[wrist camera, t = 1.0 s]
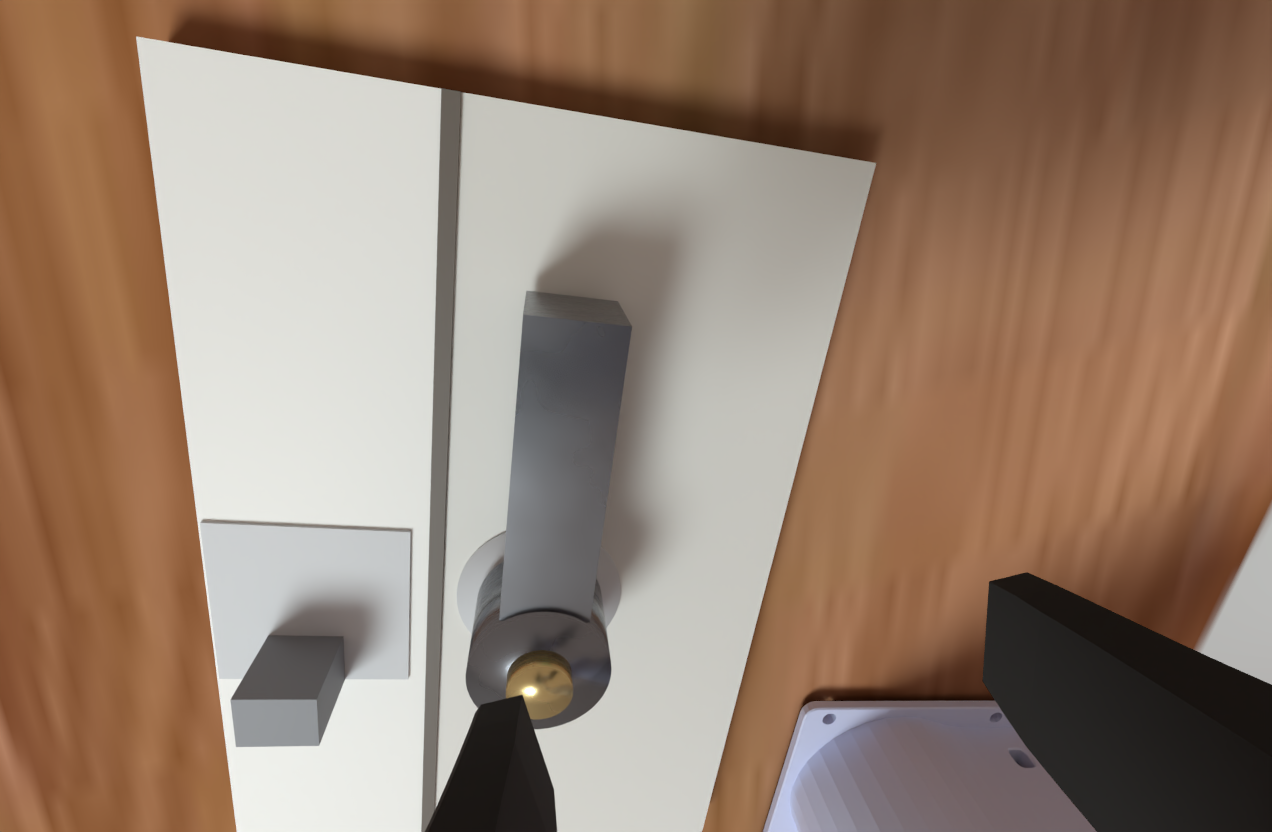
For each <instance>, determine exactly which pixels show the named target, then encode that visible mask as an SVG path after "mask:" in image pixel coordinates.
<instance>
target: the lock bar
mask: <svg viewBox="0 0 1272 832" xmlns="http://www.w3.org/2000/svg"><path fill="white" fill-rule="evenodd" d="M631 331H632V325H631V324H630V322H629V320H628V318H627V316H626V315H625V313H624V311H623V309H622V308H621V306H620V304H619V302H618V301H612V300H603V299H595V298H586V297H578V296H569V295H560V294H552V293H543V292H535V291H526V297H525V304H524V311H523V322H522V334H521V347H520V360H519V373H518V386H517V398H516V411H515V424H514V437H513V450H512V462H511V475H510V488H509V501H508V514H507V526H506V539H505V552H504V561H503V562H502V563H500V564H498V565H497V566H496V567H495V568H494V569H493V570H492V571H491V572H490V573H489V574H488V575H487V576H486V578H485V579H484V581H483V582H482V585H481V587H480V589H479V592H478V597H477V603H476V610H475V616H474V623H473V629H472V636H471V642H470V649H469V655H468V662H467V668H466V686H467V691H468V693H469V696H470V698H471V699H472V701H473V703H474V704H475V705H476V706H477V708H479V707H480V705H481V704H485V703H490V702H494V701H498V700H502V699H506V698H510V697H514V696H518V695H523V698H524V701H525V704H526V707H527V710H528V713H529V716H530V719H531V722H532V725H533V728H534V729H545V728H552V727H556V726H560V725H563V724H566V723H568V722H571V721H573V720H575V719H577V718H579V717H580V716H582V715H584V714H585V713H586V712H588V711H589V710H590V709H592V708H593V707H594V706H595V705H596V704H597V703H598V701H599V700H600V699H601V698H602V696H603V695H604V693H605V691H606V690H607V687H608V685H609V682H610V678H611V669H612V668H611V659H610V651H609V644H608V637H607V629H606V622H605V615H604V608H603V600H602V593H601V588H600V585H599V582H598V580H597V578H596V576H597V569H598V562H599V555H600V548H601V541H602V534H603V527H604V520H605V513H606V506H607V499H608V492H609V485H610V478H611V471H612V464H613V457H614V450H615V443H616V436H617V429H618V422H619V415H620V408H621V401H622V394H623V387H624V380H625V373H626V366H627V359H628V352H629V345H630V338H631Z"/></svg>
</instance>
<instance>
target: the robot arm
mask: <svg viewBox="0 0 1272 832" xmlns="http://www.w3.org/2000/svg"><path fill="white" fill-rule="evenodd" d="M983 683H984V684H985V686H986V687H987V689H988V690H989V692H990V693H991V695H992V696H993V698H994V700H995V701H813V702H809V703H807V704H806V705H805V706H803V708H802V709H801V711H800V714H799V717H798V721H797V724H796V727H795V730H794V733H793V737H792V740H791V743H790V746H789V749H788V753H787V756H786V759H785V762H784V766H783V769H782V772H781V775H780V778H779V782H778V785H777V788H776V791H775V794H774V798H773V801H772V804H771V807H770V810H769V814H768V817H767V820H766V823H765V827H764V830H763V832H1272V685H1271V684H1269V683H1266V682H1264V681H1262V680H1259V679H1257V678H1255V677H1253V676H1250V675H1248V674H1246V673H1244V672H1241V671H1239V670H1237V669H1235V668H1232V667H1230V666H1228V665H1225V664H1223V663H1221V662H1219V661H1217V660H1215V659H1212V658H1210V657H1208V656H1206V655H1204V654H1201V653H1199V652H1197V651H1195V650H1193V649H1191V648H1188V647H1186V646H1184V645H1182V644H1180V643H1178V642H1175V641H1173V640H1171V639H1169V638H1167V637H1165V636H1163V635H1160V634H1158V633H1156V632H1154V631H1152V630H1150V629H1148V628H1146V627H1143V626H1141V625H1139V624H1137V623H1135V622H1133V621H1131V620H1129V619H1127V618H1125V617H1122V616H1120V615H1118V614H1116V613H1114V612H1112V611H1110V610H1108V609H1106V608H1103V607H1101V606H1099V605H1097V604H1095V603H1093V602H1091V601H1089V600H1087V599H1084V598H1082V597H1080V596H1078V595H1076V594H1074V593H1072V592H1070V591H1067V590H1065V589H1063V588H1061V587H1059V586H1057V585H1054V584H1052V583H1050V582H1048V581H1046V580H1043V579H1041V578H1039V577H1036V576H1034V575H1032V574H1029V573H1023V574H1018V575H1014V576H1010V577H1006V578H1002V579H998V580H994V581H990V582H989V593H988V608H987V623H986V637H985V652H984V667H983ZM425 832H557V822H556V809H555V795H554V788H553V785H552V782H551V779H550V776H549V773H548V770H547V767H546V764H545V761H544V758H543V755H542V752H541V749H540V746H539V743H538V740H537V737H536V734H535V731H534V728H533V725H532V722H531V719H530V716H529V713H528V710H527V707H526V704H525V701H524V698H523V695H518V696H514V697H510V698H506V699H502V700H498V701H494V702H490V703H485V704H481V705H480V707H479V708H478V709H477V711H476V712H475V714H474V717H473V720H472V722H471V725H470V728H469V730H468V733H467V735H466V738H465V740H464V743H463V745H462V748H461V750H460V753H459V755H458V758H457V760H456V762H455V765H454V767H453V770H452V772H451V774H450V777H449V779H448V781H447V784H446V786H445V788H444V790H443V793H442V795H441V797H440V800H439V802H438V804H437V807H436V809H435V811H434V813H433V815H432V818H431V820H430V822H429V824H428V826H427V828H426V830H425Z"/></svg>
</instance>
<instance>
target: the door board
mask: <svg viewBox="0 0 1272 832" xmlns="http://www.w3.org/2000/svg"><path fill="white" fill-rule="evenodd" d="M136 39H137V47H138V55H139V63H140V71H141V79H142V87H143V95H144V103H145V110H146V118H147V126H148V134H149V142H150V150H151V158H152V166H153V174H154V181H155V189H156V197H157V205H158V213H159V221H160V229H161V237H162V245H163V253H164V260H165V268H166V276H167V284H168V292H169V300H170V308H171V316H172V324H173V331H174V339H175V347H176V355H177V363H178V371H179V379H180V387H181V395H182V403H183V410H184V418H185V426H186V434H187V442H188V450H189V458H190V466H191V474H192V482H193V489H194V497H195V505H196V513H197V521H198V529H199V537H200V545H201V553H202V560H203V568H204V576H205V584H206V592H207V600H208V608H209V616H210V624H211V632H212V639H213V647H214V655H215V663H216V671H217V679H218V687H219V695H220V703H221V711H222V718H223V726H224V734H225V742H226V750H227V758H228V766H229V774H230V782H231V789H232V797H233V805H234V813H235V821H236V829H237V832H425V830H426V828H427V826H428V824H429V822H430V820H431V818H432V815H433V813H434V811H435V809H436V807H437V804H438V802H439V800H440V797H441V795H442V793H443V790H444V788H445V786H446V784H447V781H448V779H449V777H450V774H451V772H452V770H453V767H454V765H455V762H456V760H457V758H458V755H459V753H460V750H461V748H462V745H463V743H464V740H465V738H466V735H467V733H468V730H469V728H470V725H471V722H472V720H473V717H474V714H475V712H476V711H477V709H478V708H477V706H476V705H475V704H474V703H473V701H472V699H471V698H470V696H469V693H468V691H467V686H466V668H467V662H468V655H469V649H470V642H471V636H472V629H473V623H474V616H475V610H476V603H477V597H478V592H479V589H480V587H481V585H482V582H483V581H484V579H485V578H486V576H487V575H488V574H489V573H490V572H491V571H492V570H493V569H494V568H495V567H496V566H497V565H498V564H500V563H502V562H503V561H504V552H505V539H506V526H507V514H508V501H509V488H510V475H511V462H512V450H513V437H514V424H515V411H516V398H517V386H518V373H519V360H520V347H521V334H522V322H523V311H524V304H525V297H526V291H535V292H543V293H552V294H560V295H569V296H578V297H586V298H595V299H603V300H612V301H618V302H619V304H620V306H621V308H622V309H623V311H624V313H625V315H626V316H627V318H628V320H629V322H630V324H631V325H632V331H631V338H630V345H629V352H628V359H627V366H626V373H625V380H624V387H623V394H622V401H621V408H620V415H619V422H618V429H617V436H616V443H615V450H614V457H613V464H612V471H611V478H610V485H609V492H608V499H607V506H606V513H605V520H604V527H603V534H602V541H601V548H600V555H599V562H598V569H597V576H596V578H597V580H598V582H599V585H600V588H601V593H602V600H603V608H604V615H605V622H606V629H607V637H608V644H609V651H610V659H611V668H612V669H611V678H610V682H609V685H608V687H607V690H606V691H605V693H604V695H603V696H602V698H601V699H600V700H599V701H598V703H597V704H596V705H595V706H594V707H593V708H592V709H590V710H589V711H588V712H586V713H585V714H584V715H582V716H580V717H579V718H577V719H575V720H573V721H571V722H568V723H566V724H563V725H560V726H556V727H552V728H545V729H534V731H535V734H536V737H537V740H538V743H539V746H540V749H541V752H542V755H543V758H544V761H545V764H546V767H547V770H548V773H549V776H550V779H551V782H552V785H553V788H554V795H555V809H556V822H557V832H702V830H703V826H704V822H705V818H706V814H707V810H708V807H709V803H710V799H711V795H712V791H713V787H714V783H715V780H716V776H717V772H718V768H719V764H720V760H721V757H722V753H723V749H724V745H725V741H726V737H727V734H728V730H729V726H730V722H731V718H732V714H733V711H734V707H735V703H736V699H737V695H738V691H739V688H740V684H741V680H742V676H743V672H744V668H745V665H746V661H747V657H748V653H749V649H750V645H751V642H752V638H753V634H754V630H755V626H756V622H757V619H758V615H759V611H760V607H761V603H762V599H763V596H764V592H765V588H766V584H767V580H768V576H769V572H770V569H771V565H772V561H773V557H774V553H775V549H776V546H777V542H778V538H779V534H780V530H781V526H782V523H783V519H784V515H785V511H786V507H787V503H788V500H789V496H790V492H791V488H792V484H793V480H794V477H795V473H796V469H797V465H798V461H799V457H800V454H801V450H802V446H803V442H804V438H805V434H806V431H807V427H808V423H809V419H810V415H811V411H812V408H813V404H814V400H815V396H816V392H817V388H818V385H819V381H820V377H821V373H822V369H823V365H824V362H825V358H826V354H827V350H828V346H829V342H830V338H831V335H832V331H833V327H834V323H835V319H836V315H837V312H838V308H839V304H840V300H841V296H842V292H843V289H844V285H845V281H846V277H847V273H848V269H849V266H850V262H851V258H852V254H853V250H854V246H855V243H856V239H857V235H858V231H859V227H860V223H861V220H862V216H863V212H864V208H865V204H866V200H867V197H868V193H869V189H870V185H871V181H872V177H873V174H874V170H875V166H876V163H873V162H867V161H861V160H855V159H849V158H844V157H838V156H832V155H826V154H820V153H814V152H809V151H803V150H797V149H791V148H785V147H779V146H773V145H768V144H762V143H756V142H750V141H744V140H738V139H732V138H727V137H721V136H715V135H709V134H703V133H697V132H692V131H686V130H680V129H674V128H668V127H662V126H656V125H651V124H645V123H639V122H633V121H627V120H621V119H616V118H610V117H604V116H598V115H592V114H586V113H580V112H575V111H569V110H563V109H557V108H551V107H545V106H539V105H534V104H528V103H522V102H516V101H510V100H504V99H499V98H493V97H487V96H481V95H475V94H469V93H463V92H460V91H454V90H448V89H443V88H441V89H440V88H434V87H428V86H422V85H417V84H411V83H405V82H399V81H393V80H387V79H382V78H376V77H370V76H364V75H358V74H352V73H346V72H341V71H335V70H329V69H323V68H317V67H311V66H306V65H300V64H294V63H288V62H282V61H276V60H270V59H265V58H259V57H253V56H247V55H241V54H235V53H229V52H224V51H218V50H212V49H206V48H200V47H194V46H189V45H183V44H177V43H171V42H165V41H159V40H153V39H148V38H142V37H136Z"/></svg>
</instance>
